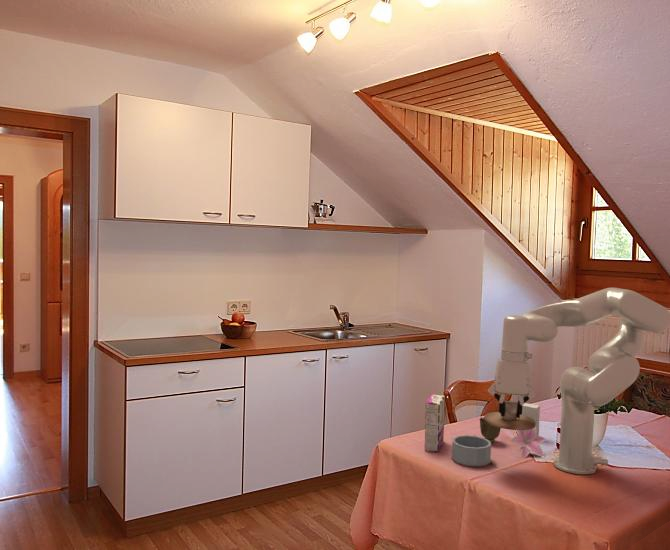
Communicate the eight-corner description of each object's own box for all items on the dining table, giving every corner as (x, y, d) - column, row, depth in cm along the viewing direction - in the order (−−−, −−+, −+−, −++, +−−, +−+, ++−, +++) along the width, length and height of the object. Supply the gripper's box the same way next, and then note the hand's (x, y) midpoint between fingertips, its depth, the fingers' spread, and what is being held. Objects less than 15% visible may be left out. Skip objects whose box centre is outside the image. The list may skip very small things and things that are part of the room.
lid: (531, 417, 196) (532, 398, 195) (539, 432, 181) (540, 412, 181) (482, 413, 198) (483, 394, 198) (486, 427, 183) (487, 407, 183)
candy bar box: (429, 439, 218) (431, 393, 217) (443, 441, 216) (445, 395, 215) (423, 450, 207) (425, 402, 206) (438, 452, 206) (440, 403, 205)
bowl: (488, 455, 205) (489, 437, 204) (491, 468, 193) (492, 449, 192) (451, 451, 207) (452, 434, 206) (451, 465, 195) (452, 446, 195)
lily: (502, 457, 206) (513, 437, 201) (506, 433, 216) (516, 414, 211) (538, 472, 204) (549, 452, 199) (539, 447, 214) (551, 428, 209)
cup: (502, 446, 213) (504, 423, 213) (481, 445, 214) (482, 422, 213) (497, 438, 221) (498, 416, 220) (476, 438, 221) (477, 416, 220)
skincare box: (538, 438, 223) (540, 405, 222) (535, 441, 219) (537, 408, 218) (521, 434, 226) (523, 402, 225) (518, 438, 222) (520, 405, 221)
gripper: (540, 356, 191) (536, 415, 192) (484, 352, 193) (480, 410, 194) (545, 361, 183) (540, 422, 185) (486, 356, 186) (482, 417, 187)
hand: (509, 415), depth 189 cm, fingers closed on lid, 4 cm apart
